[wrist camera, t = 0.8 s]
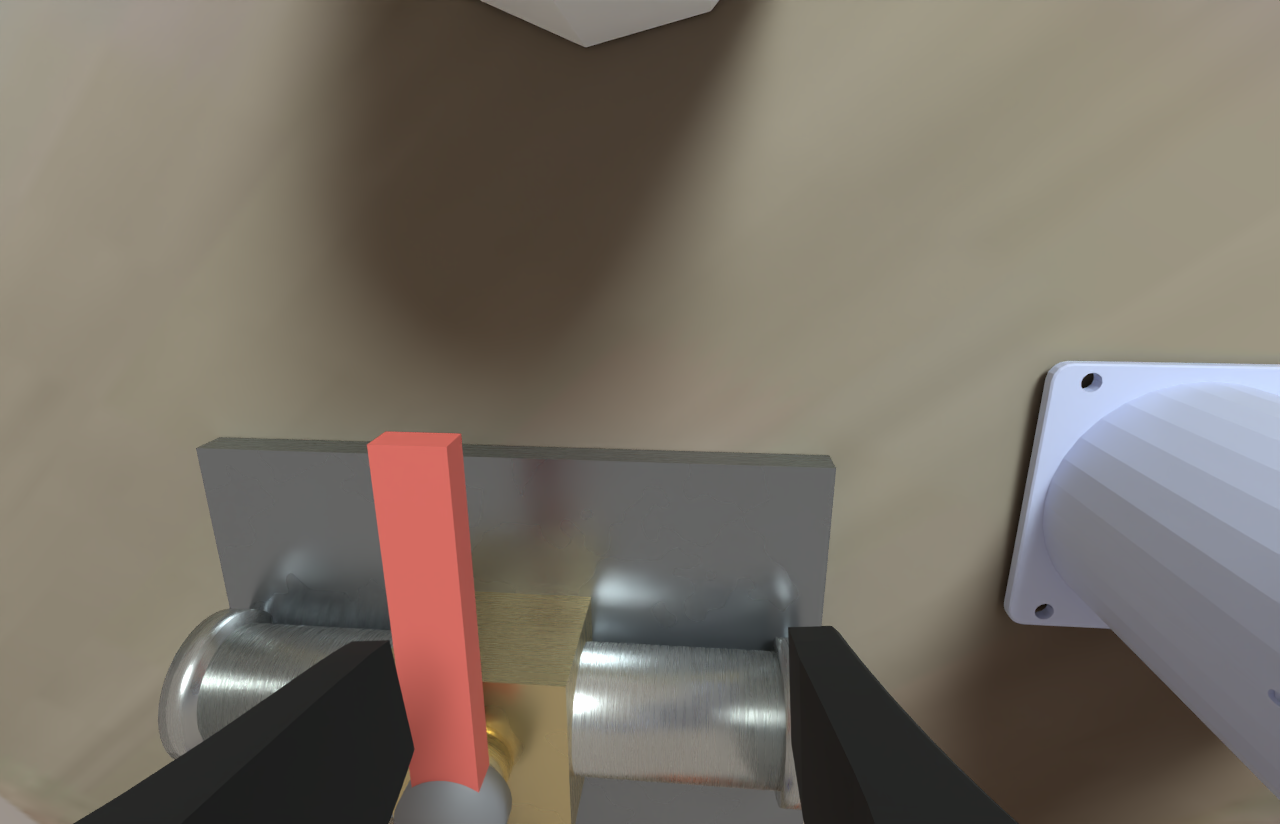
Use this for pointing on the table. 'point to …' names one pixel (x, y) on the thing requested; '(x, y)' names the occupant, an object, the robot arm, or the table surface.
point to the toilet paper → (601, 16)
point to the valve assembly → (545, 614)
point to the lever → (435, 628)
